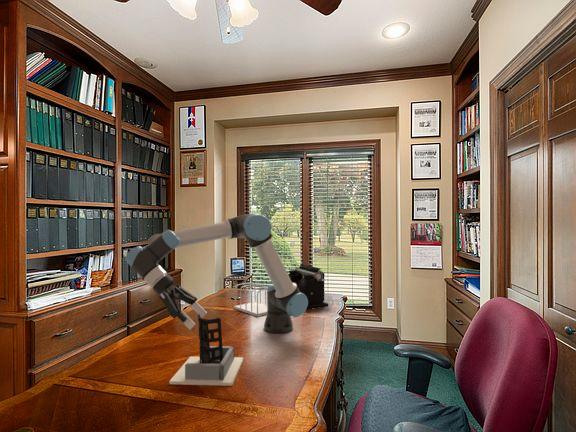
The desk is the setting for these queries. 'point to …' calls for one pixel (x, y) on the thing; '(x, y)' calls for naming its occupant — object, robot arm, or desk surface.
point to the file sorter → (252, 307)
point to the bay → (209, 370)
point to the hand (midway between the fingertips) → (199, 320)
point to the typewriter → (309, 284)
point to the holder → (205, 341)
